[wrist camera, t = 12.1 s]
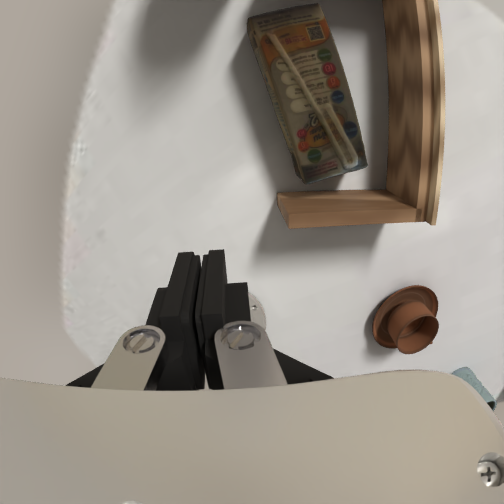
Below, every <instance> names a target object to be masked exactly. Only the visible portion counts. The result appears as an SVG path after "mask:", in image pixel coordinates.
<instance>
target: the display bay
mask: <svg viewBox="0 0 504 504" xmlns="http://www.w3.org/2000/svg"><path fill="white" fill-rule="evenodd" d="M382 3H383V12H384V21H385V33H386V46H387V63H388V90H389V135H388V164H387V182H386V189H385V190H333V191H305V192H284V193H277V205H278V207H279V209H280V211H281V213H282V215H283V218H284V220H285V222H286V224H287V226H288V228H289V229H293V228H309V227H326V226H344V225H362V224H382V223H403V222H425V221H426V222H427V223H429V224H430V225H436V219H437V212H438V204H439V196H440V187H441V178H442V166H443V153H444V134H445V72H444V54H443V41H442V31H441V21H440V13H439V6H438V0H382Z"/></svg>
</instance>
